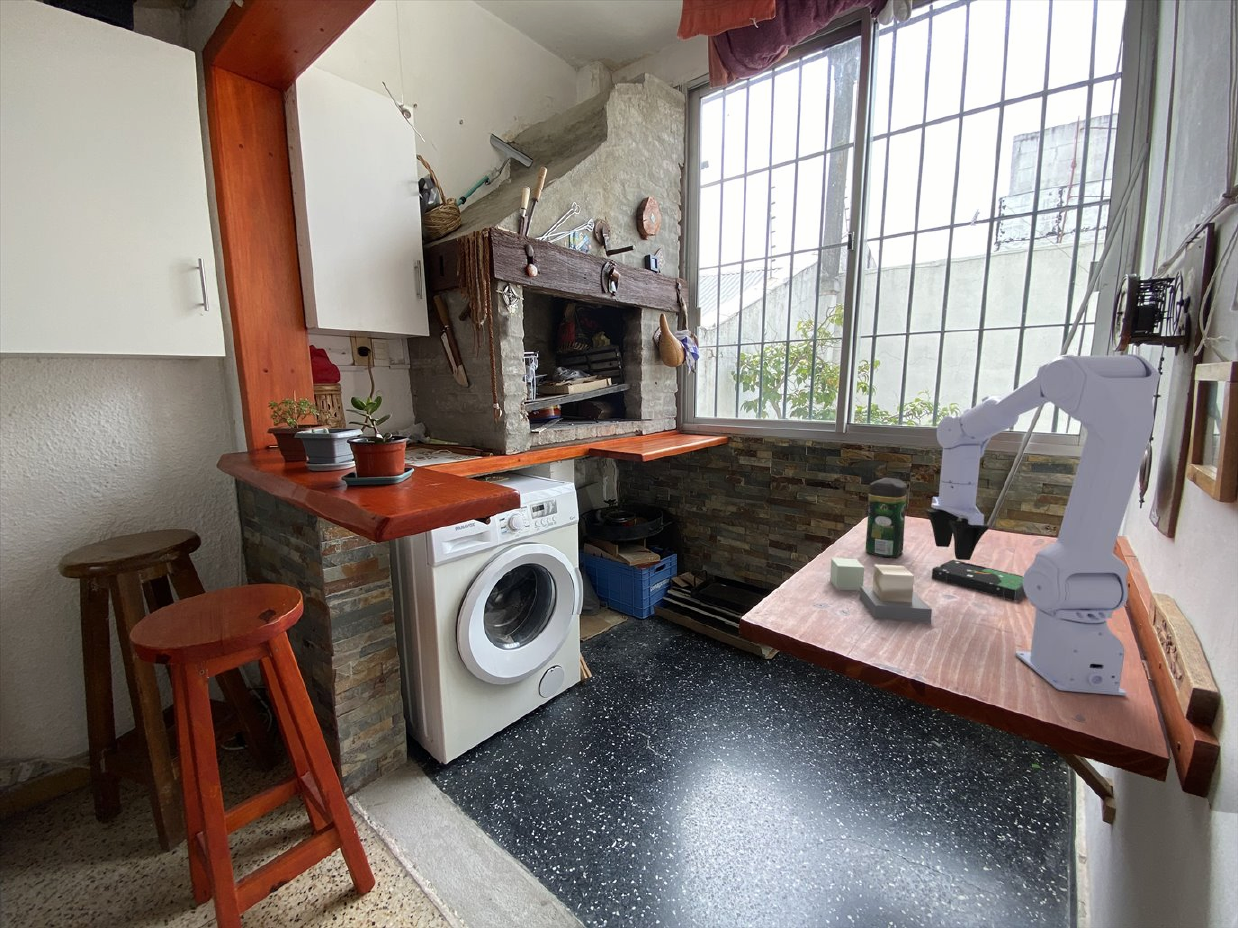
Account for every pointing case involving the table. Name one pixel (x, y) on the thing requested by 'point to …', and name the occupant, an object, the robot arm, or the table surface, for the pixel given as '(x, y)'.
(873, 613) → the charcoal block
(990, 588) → the disk drive
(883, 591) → the birch cube
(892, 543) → the coffee jar
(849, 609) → the table surface
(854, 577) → the sage cube
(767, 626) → the table surface
